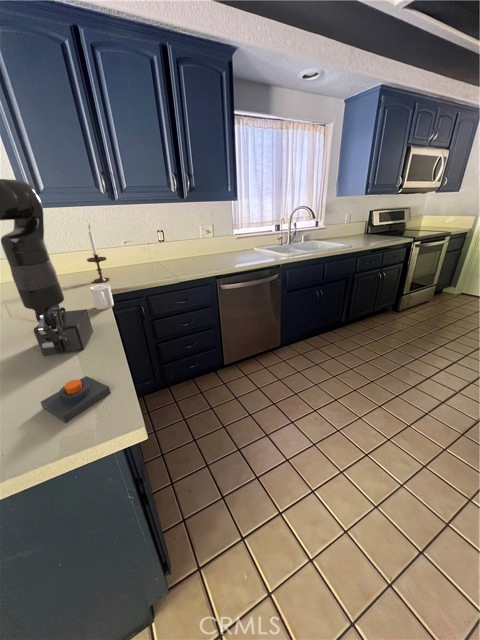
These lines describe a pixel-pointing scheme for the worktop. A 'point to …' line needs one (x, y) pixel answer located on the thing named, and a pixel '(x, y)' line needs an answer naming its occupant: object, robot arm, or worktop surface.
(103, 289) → the cup
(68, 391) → the button
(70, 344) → the drawer
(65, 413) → the block
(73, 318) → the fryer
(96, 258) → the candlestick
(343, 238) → the worktop surface
